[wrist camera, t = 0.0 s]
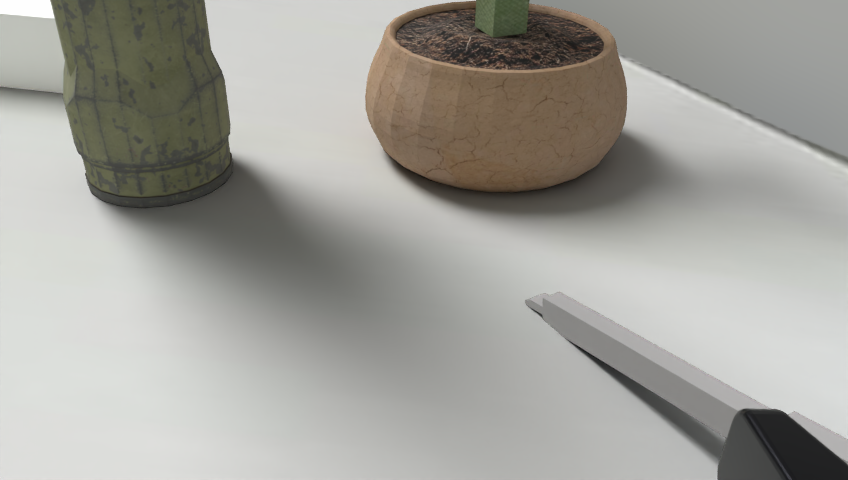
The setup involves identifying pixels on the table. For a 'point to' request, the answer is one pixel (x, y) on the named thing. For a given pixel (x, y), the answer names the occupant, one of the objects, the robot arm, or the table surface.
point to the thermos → (144, 99)
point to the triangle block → (30, 46)
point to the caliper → (660, 368)
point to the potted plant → (496, 94)
